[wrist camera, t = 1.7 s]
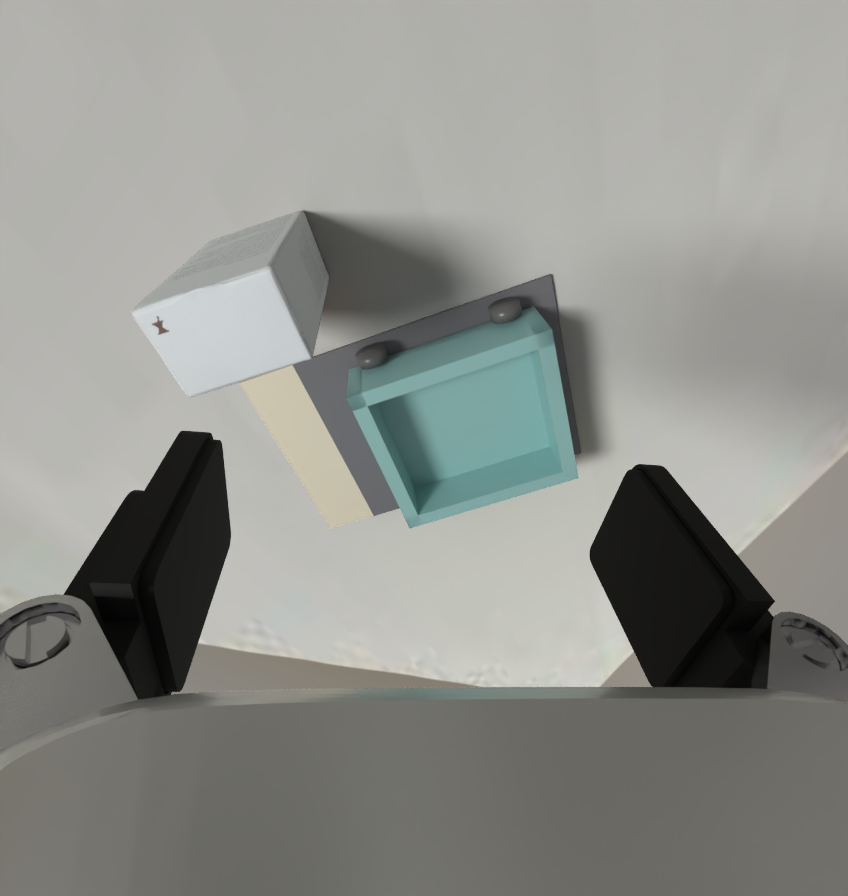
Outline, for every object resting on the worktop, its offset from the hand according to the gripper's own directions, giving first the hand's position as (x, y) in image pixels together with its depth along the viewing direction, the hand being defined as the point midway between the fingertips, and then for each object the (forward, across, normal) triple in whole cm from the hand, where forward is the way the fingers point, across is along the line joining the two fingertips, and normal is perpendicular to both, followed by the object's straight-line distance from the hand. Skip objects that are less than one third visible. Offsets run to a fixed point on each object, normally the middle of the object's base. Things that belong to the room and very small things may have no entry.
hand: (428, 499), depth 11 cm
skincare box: (+23, +7, +1) cm, 24 cm away
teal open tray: (+23, -6, +10) cm, 26 cm away
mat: (+23, -4, +11) cm, 26 cm away
